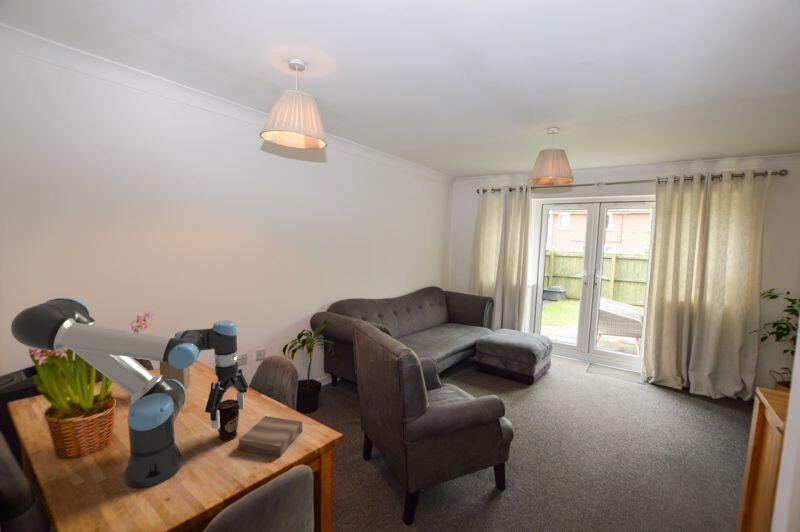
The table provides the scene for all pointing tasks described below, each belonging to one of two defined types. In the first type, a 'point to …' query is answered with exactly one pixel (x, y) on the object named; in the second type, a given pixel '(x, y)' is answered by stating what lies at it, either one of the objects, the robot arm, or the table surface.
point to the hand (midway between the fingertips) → (229, 417)
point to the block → (175, 373)
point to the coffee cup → (228, 419)
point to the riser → (271, 436)
